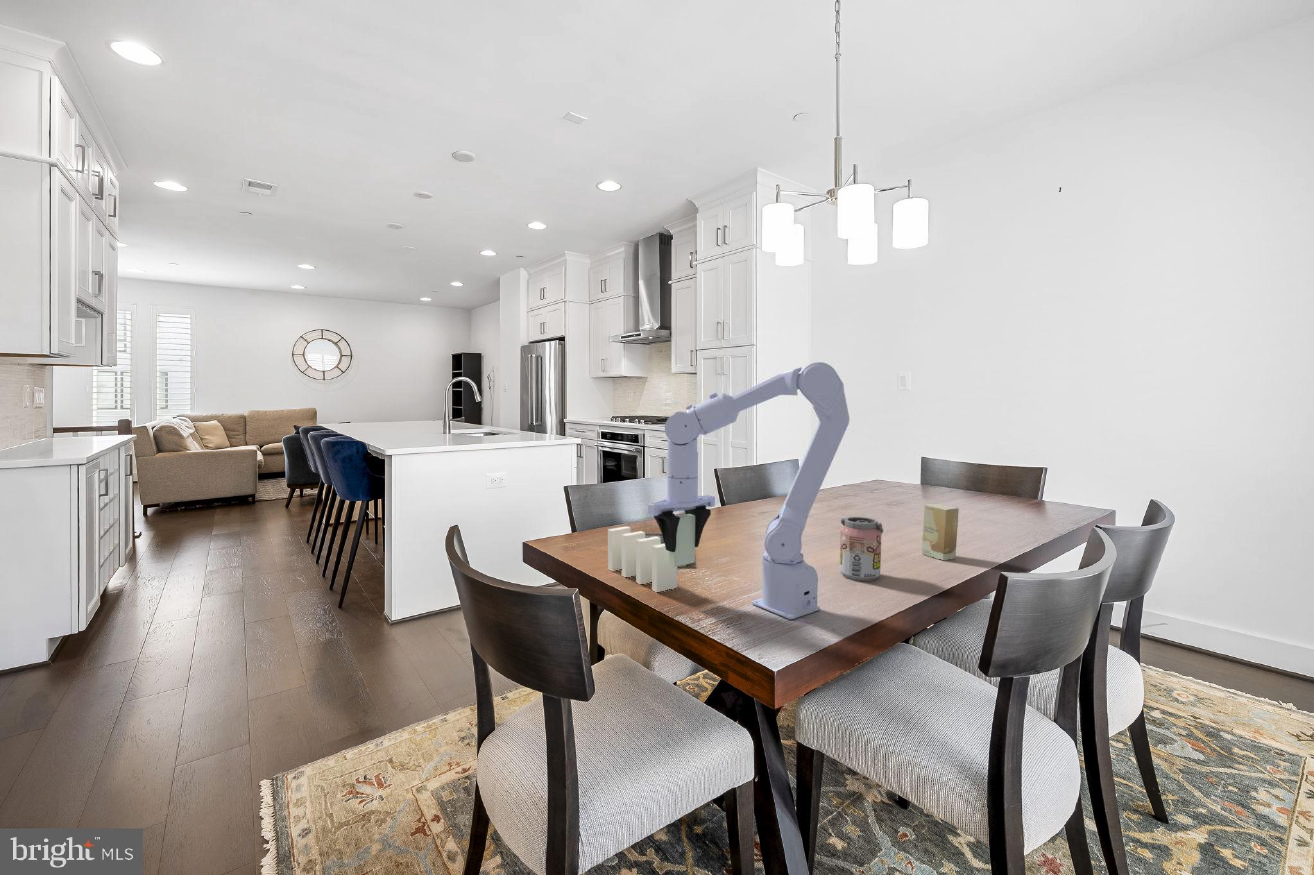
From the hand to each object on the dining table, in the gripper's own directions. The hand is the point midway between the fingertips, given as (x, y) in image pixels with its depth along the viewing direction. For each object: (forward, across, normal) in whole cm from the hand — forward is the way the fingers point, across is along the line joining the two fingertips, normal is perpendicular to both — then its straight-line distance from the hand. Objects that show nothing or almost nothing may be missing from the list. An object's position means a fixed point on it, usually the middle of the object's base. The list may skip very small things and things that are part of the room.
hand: (682, 548), depth 105 cm
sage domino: (+3, 0, 0) cm, 3 cm away
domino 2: (+10, 0, -16) cm, 19 cm away
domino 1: (+10, 0, -22) cm, 24 cm away
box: (+10, -14, -26) cm, 31 cm away
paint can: (+10, -39, +12) cm, 42 cm away
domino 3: (+10, 0, -11) cm, 15 cm away
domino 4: (+10, 0, -6) cm, 11 cm away
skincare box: (+10, -66, +15) cm, 68 cm away
